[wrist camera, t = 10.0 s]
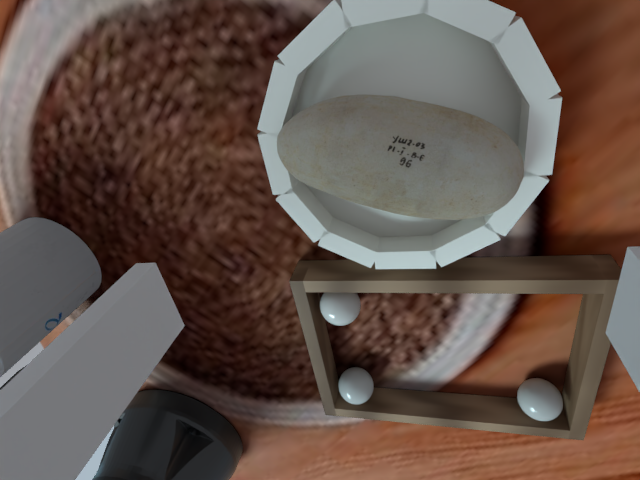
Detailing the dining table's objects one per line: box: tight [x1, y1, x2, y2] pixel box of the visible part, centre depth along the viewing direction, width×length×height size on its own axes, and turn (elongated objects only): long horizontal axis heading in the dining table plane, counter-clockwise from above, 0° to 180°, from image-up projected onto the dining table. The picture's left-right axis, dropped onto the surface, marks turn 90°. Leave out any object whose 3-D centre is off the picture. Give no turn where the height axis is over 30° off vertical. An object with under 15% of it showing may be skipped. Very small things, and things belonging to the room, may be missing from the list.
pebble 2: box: [517, 378, 563, 421], centre depth 29 cm, size 3×3×3 cm
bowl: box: [257, 0, 562, 269], centre depth 21 cm, size 15×15×3 cm
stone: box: [277, 95, 524, 220], centre depth 20 cm, size 6×6×12 cm
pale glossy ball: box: [338, 367, 374, 405], centre depth 33 cm, size 3×3×3 cm
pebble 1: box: [320, 292, 361, 326], centre depth 28 cm, size 3×3×3 cm
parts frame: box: [289, 255, 621, 440], centre depth 29 cm, size 20×15×2 cm
